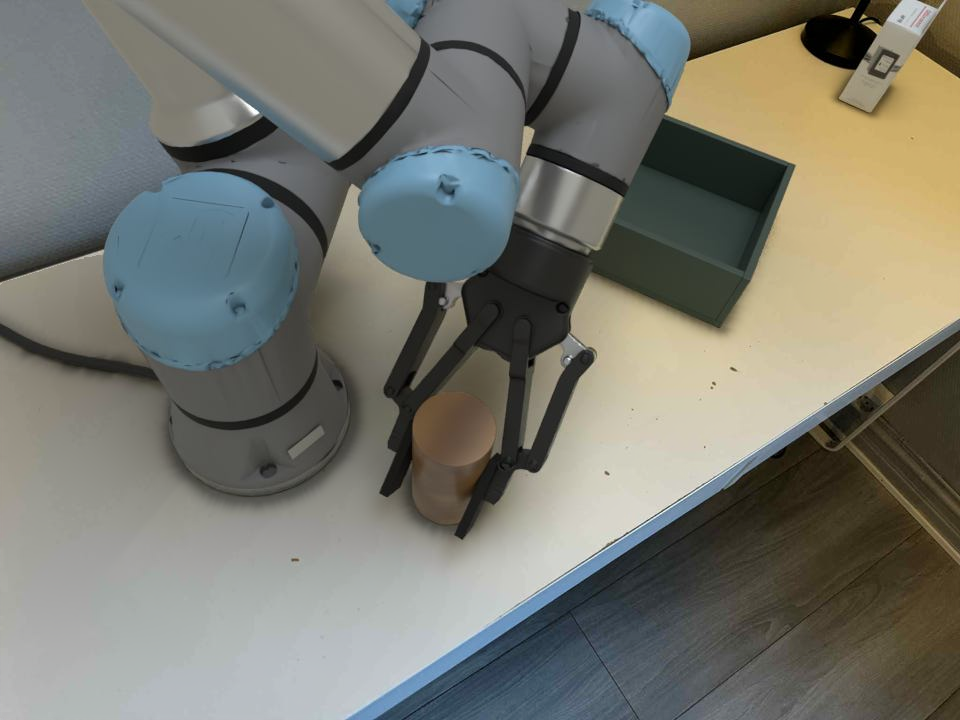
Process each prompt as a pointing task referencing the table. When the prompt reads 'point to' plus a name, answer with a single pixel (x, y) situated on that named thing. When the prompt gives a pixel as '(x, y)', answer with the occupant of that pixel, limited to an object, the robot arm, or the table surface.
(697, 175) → the bin
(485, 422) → the cardboard tube
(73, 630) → the table surface
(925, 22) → the ink box
